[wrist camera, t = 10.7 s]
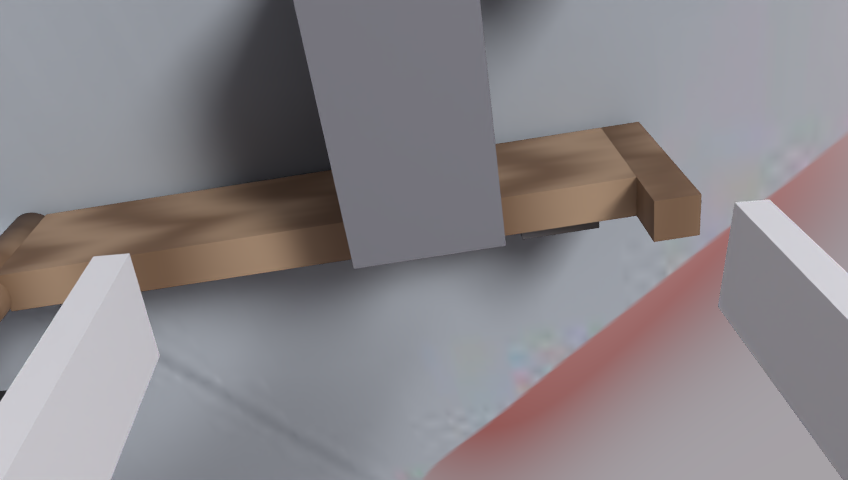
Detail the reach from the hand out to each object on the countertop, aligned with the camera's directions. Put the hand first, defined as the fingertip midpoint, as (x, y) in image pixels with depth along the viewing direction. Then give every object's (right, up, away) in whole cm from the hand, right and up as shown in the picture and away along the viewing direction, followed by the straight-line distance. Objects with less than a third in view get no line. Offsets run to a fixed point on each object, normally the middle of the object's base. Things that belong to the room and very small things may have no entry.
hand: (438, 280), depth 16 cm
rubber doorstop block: (-1, +9, +13) cm, 16 cm away
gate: (-5, +3, +16) cm, 17 cm away
